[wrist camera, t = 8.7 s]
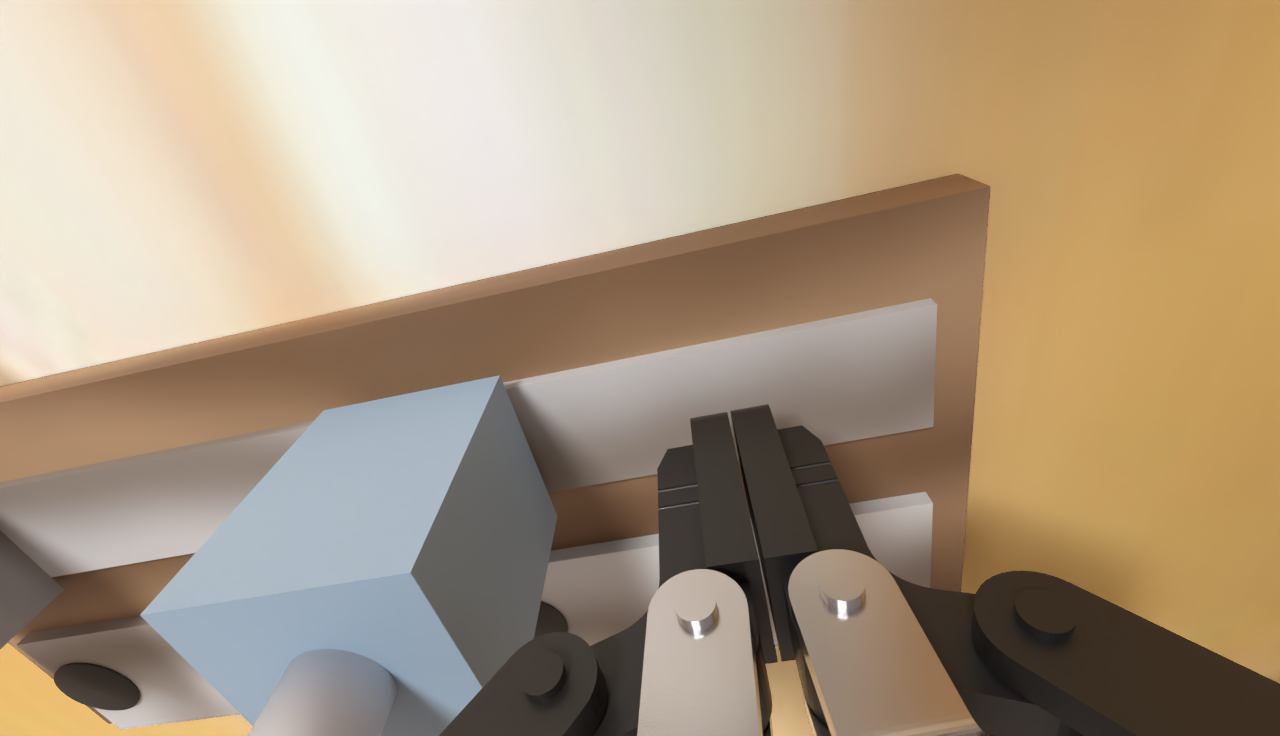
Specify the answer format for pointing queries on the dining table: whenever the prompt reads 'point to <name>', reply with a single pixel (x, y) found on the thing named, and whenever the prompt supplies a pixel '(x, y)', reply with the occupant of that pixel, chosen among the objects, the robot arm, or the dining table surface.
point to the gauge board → (545, 407)
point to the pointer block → (372, 569)
